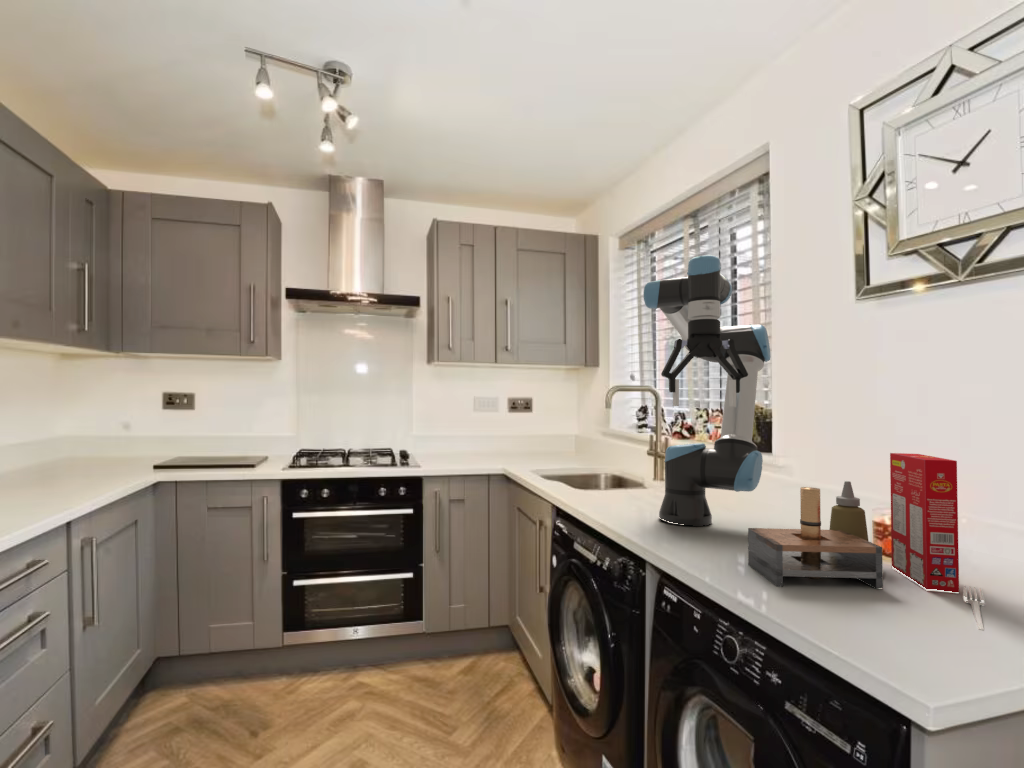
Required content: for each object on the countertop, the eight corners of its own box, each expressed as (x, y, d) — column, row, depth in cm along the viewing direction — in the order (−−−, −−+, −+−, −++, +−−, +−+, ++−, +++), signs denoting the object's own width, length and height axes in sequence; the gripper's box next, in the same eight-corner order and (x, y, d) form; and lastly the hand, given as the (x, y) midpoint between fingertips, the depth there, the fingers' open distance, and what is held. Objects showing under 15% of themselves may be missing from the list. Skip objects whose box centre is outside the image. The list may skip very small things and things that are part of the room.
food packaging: (959, 593, 101) (956, 460, 102) (927, 591, 102) (924, 459, 103) (919, 570, 115) (917, 453, 116) (891, 568, 117) (890, 453, 117)
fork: (967, 632, 86) (967, 620, 86) (961, 594, 101) (961, 584, 101) (995, 638, 84) (995, 626, 84) (984, 598, 99) (984, 588, 99)
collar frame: (748, 564, 118) (748, 528, 118) (841, 566, 117) (841, 530, 117) (776, 586, 104) (776, 544, 104) (882, 589, 103) (882, 547, 103)
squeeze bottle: (832, 564, 119) (831, 482, 120) (824, 554, 127) (823, 478, 127) (874, 568, 116) (873, 485, 117) (864, 558, 124) (863, 480, 124)
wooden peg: (797, 573, 113) (796, 486, 113) (815, 573, 112) (814, 487, 113) (806, 578, 109) (805, 489, 109) (825, 579, 109) (824, 490, 109)
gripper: (656, 317, 129) (655, 405, 128) (762, 317, 127) (762, 406, 127) (649, 322, 136) (649, 405, 135) (749, 322, 135) (750, 406, 134)
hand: (704, 406), depth 131 cm, fingers open, 13 cm apart
